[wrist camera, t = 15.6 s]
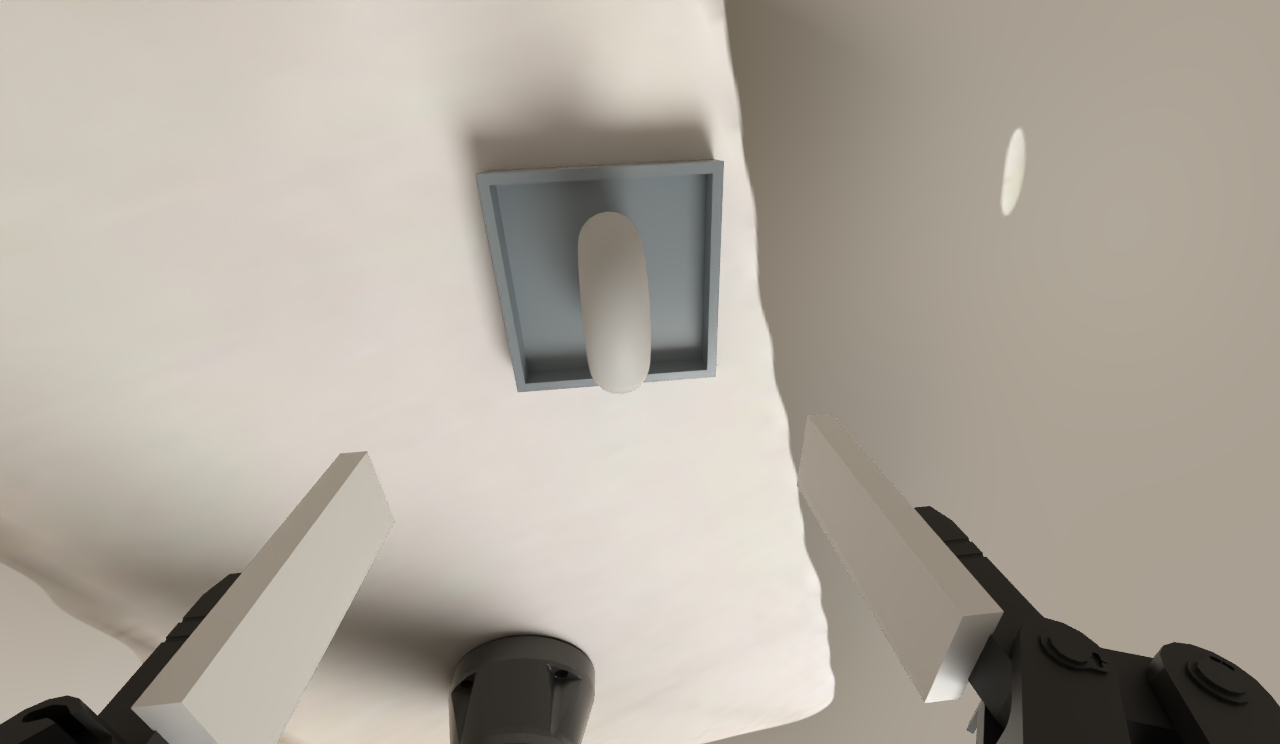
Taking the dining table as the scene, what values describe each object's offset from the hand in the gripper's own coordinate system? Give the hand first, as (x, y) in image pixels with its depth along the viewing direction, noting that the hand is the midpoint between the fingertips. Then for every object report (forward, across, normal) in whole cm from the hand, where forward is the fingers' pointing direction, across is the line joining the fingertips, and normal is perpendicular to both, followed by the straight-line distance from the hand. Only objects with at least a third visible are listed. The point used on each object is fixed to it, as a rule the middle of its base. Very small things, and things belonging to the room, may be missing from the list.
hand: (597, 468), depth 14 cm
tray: (+19, -1, -1) cm, 19 cm away
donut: (+18, -1, -1) cm, 18 cm away
